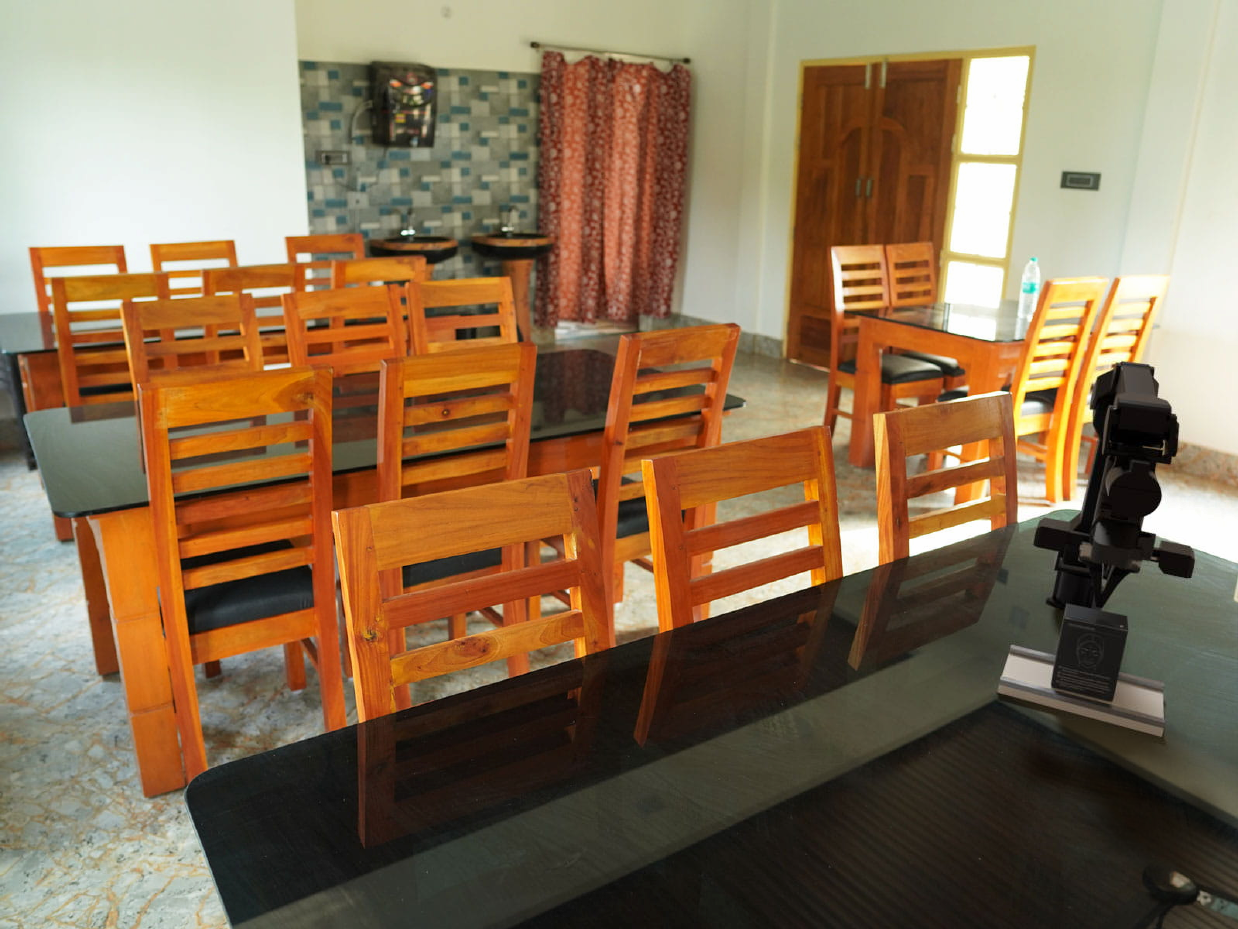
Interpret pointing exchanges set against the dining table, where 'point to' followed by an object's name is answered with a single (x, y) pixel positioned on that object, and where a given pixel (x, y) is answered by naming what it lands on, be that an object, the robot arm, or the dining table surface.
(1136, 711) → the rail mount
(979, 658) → the dining table surface
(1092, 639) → the box
